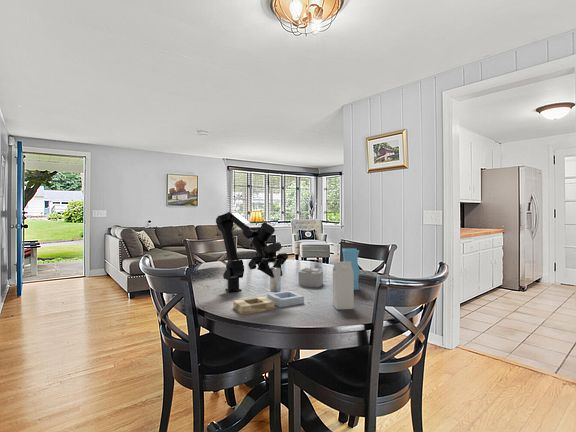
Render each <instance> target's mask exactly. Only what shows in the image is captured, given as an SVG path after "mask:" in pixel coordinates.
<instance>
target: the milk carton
mask: <svg viewBox="0 0 576 432" xmlns="http://www.w3.org/2000/svg"><path fill="white" fill-rule="evenodd" d="M354 291H355V290H354V274H353V269H352V265H351V262H343V261H334V263H333V268H332V305H333V307H334V308H335V309H336V310H339V311H340V310H354V309H355V308H354V306H355V305H354V302H355V301H354V300H355V299H354Z"/></svg>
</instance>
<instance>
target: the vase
mask: <svg viewBox="0 0 576 432" xmlns="http://www.w3.org/2000/svg"><path fill="white" fill-rule="evenodd" d="M341 249H342V250H341V251H342V255H343V259H342V260H343V261H342V262H351V265H352V269H353V274H354V291H358V290H360V287H359V276H360V272H361V271H360V267H359V264H358V263H359V262H358V258H359V255H360V249H358V248H349V247H348V248H341ZM357 249H358V250H357Z"/></svg>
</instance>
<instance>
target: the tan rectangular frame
mask: <svg viewBox="0 0 576 432" xmlns="http://www.w3.org/2000/svg"><path fill="white" fill-rule="evenodd" d="M232 303H233V306H232V307H233V309H234V310H235V311H237V312H238V313H239V314H240V315H242V316H243V315H244V316H245V315H251V314H254V313H261V312H266V311H271V310H275V306H276V305H275V304H274V301H272V300H270V299H268V298H267V296H265V295H264V296H256V297H250V298H249V297H248V298H243V299H237V300H236V299H235V300H233V301H232Z"/></svg>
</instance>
